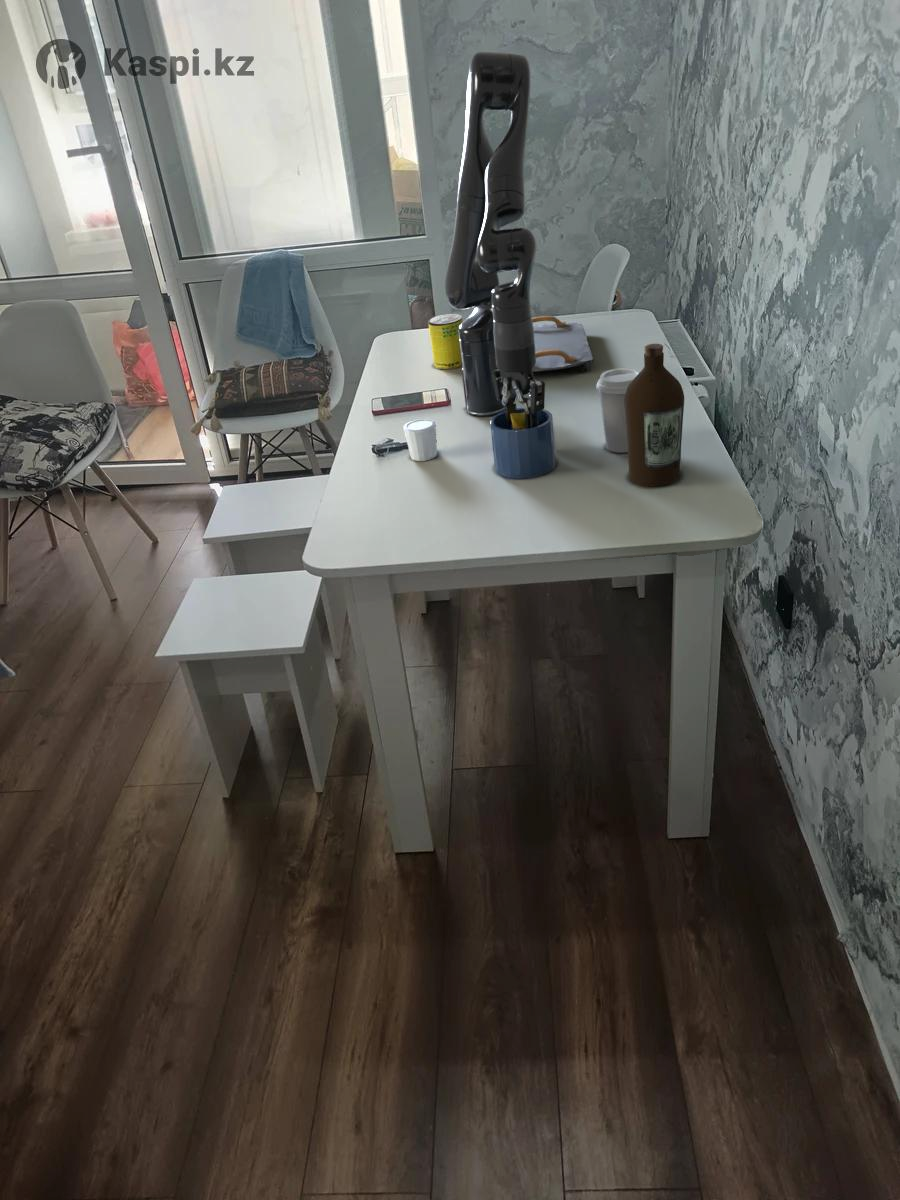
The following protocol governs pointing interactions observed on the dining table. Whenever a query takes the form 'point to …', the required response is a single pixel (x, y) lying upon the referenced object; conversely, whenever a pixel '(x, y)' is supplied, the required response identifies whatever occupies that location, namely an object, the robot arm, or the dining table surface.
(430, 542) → the dining table surface
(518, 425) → the drill bit
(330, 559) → the dining table surface
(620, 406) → the coffee cup
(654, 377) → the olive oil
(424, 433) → the white cylinder
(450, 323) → the yellow can
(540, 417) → the cup
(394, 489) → the dining table surface
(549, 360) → the serving tray
